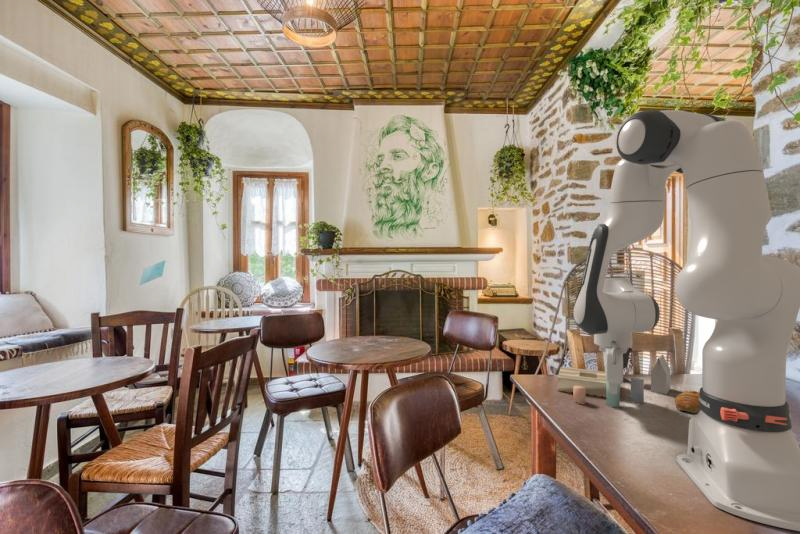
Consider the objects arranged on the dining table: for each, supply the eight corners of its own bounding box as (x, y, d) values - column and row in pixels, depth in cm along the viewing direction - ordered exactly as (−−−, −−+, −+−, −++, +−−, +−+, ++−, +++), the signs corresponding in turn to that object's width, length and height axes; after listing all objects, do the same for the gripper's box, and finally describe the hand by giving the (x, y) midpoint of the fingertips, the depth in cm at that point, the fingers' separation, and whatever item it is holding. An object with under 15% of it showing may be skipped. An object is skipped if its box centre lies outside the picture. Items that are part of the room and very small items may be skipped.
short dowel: (585, 404, 102) (585, 389, 102) (573, 403, 103) (573, 388, 103) (585, 401, 105) (585, 386, 105) (573, 399, 106) (573, 385, 106)
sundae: (625, 376, 125) (625, 331, 125) (636, 383, 119) (636, 335, 118) (604, 376, 126) (604, 330, 126) (614, 383, 119) (613, 335, 119)
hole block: (620, 399, 106) (620, 384, 106) (557, 390, 113) (557, 377, 113) (617, 386, 117) (617, 372, 116) (560, 379, 124) (560, 366, 124)
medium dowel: (644, 404, 102) (644, 381, 102) (631, 402, 103) (631, 380, 103) (643, 400, 105) (643, 378, 105) (630, 398, 106) (630, 377, 106)
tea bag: (670, 388, 114) (670, 355, 114) (666, 394, 109) (666, 359, 109) (655, 386, 116) (655, 353, 116) (650, 392, 111) (651, 357, 111)
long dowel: (619, 408, 99) (619, 377, 99) (606, 406, 101) (606, 376, 101) (619, 404, 102) (619, 374, 102) (606, 402, 103) (606, 373, 103)
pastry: (702, 418, 93) (701, 402, 93) (669, 410, 98) (668, 395, 98) (710, 407, 100) (710, 393, 100) (678, 401, 105) (678, 387, 105)
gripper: (630, 347, 90) (630, 406, 91) (623, 332, 109) (623, 381, 109) (599, 345, 93) (599, 401, 93) (598, 330, 111) (598, 378, 112)
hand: (612, 390), depth 101 cm, fingers closed on long dowel, 3 cm apart
